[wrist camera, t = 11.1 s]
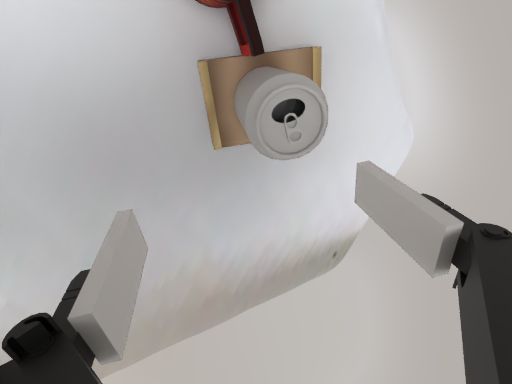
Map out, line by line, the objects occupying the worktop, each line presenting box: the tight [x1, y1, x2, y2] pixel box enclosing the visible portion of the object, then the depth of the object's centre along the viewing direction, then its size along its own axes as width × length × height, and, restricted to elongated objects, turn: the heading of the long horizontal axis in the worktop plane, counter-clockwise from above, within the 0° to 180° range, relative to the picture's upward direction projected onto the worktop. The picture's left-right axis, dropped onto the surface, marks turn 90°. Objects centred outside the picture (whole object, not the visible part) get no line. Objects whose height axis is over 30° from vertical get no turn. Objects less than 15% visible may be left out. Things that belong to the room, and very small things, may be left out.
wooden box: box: [198, 47, 321, 150], centre depth 34 cm, size 14×10×3 cm
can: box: [233, 67, 328, 160], centre depth 27 cm, size 8×8×12 cm
